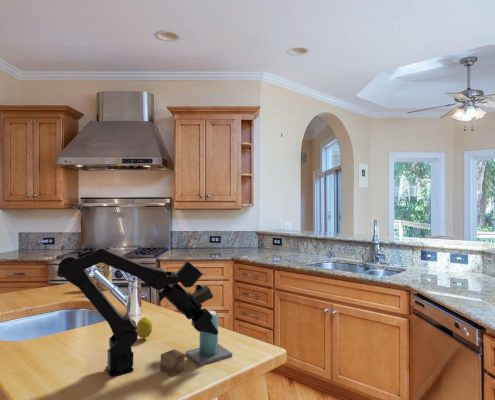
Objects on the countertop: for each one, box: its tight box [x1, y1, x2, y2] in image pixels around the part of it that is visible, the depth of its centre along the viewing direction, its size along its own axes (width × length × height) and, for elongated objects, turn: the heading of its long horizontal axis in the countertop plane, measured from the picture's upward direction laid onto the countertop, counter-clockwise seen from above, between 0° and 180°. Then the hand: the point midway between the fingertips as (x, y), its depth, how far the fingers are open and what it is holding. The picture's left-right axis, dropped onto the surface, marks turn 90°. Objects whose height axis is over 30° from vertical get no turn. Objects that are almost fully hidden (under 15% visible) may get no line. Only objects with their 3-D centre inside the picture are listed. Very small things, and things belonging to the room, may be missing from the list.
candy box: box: [93, 263, 113, 291], centre depth 202 cm, size 9×4×15 cm, turn 93°
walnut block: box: [160, 348, 186, 377], centre depth 107 cm, size 5×5×5 cm
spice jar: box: [198, 310, 219, 356], centre depth 117 cm, size 6×6×13 cm
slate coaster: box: [184, 343, 233, 366], centre depth 117 cm, size 12×10×1 cm
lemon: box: [136, 316, 153, 340], centre depth 130 cm, size 6×6×8 cm
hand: (213, 328), depth 118 cm, fingers open, 9 cm apart
